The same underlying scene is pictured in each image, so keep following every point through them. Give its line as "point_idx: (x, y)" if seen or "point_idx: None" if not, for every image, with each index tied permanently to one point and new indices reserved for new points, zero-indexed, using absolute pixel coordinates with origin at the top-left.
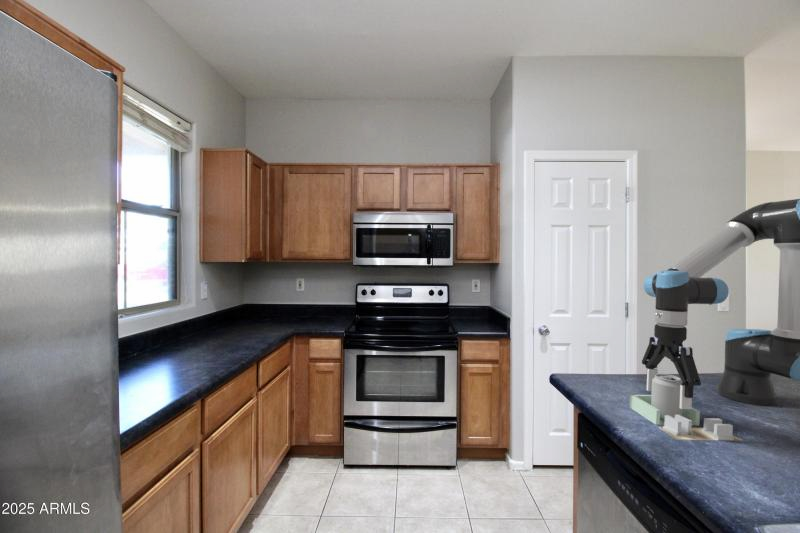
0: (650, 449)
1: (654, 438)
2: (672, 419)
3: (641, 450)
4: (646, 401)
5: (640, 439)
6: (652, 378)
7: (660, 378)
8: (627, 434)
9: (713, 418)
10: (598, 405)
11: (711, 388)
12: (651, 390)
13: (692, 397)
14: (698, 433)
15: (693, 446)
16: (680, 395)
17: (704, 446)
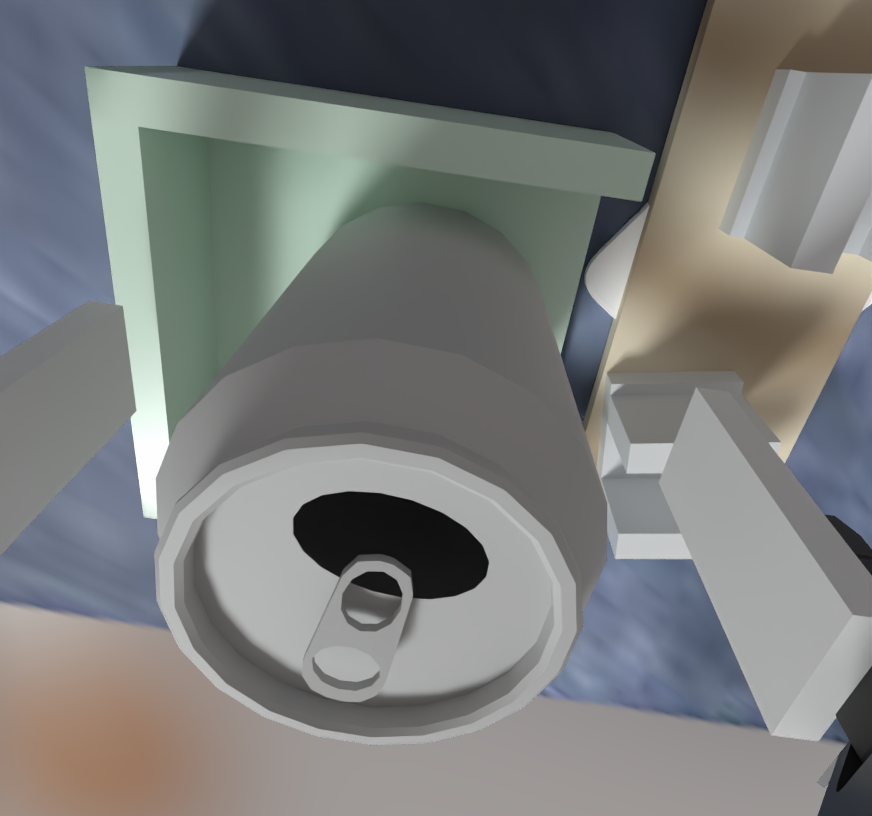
0: (749, 691)
1: (659, 599)
2: (690, 555)
3: (740, 726)
4: (190, 366)
5: (645, 665)
6: (26, 460)
7: (419, 742)
8: (577, 682)
9: (841, 154)
10: (148, 584)
11: None
12: (128, 376)
13: (841, 524)
14: (741, 309)
15: (828, 475)
16: (716, 591)
17: (863, 407)
